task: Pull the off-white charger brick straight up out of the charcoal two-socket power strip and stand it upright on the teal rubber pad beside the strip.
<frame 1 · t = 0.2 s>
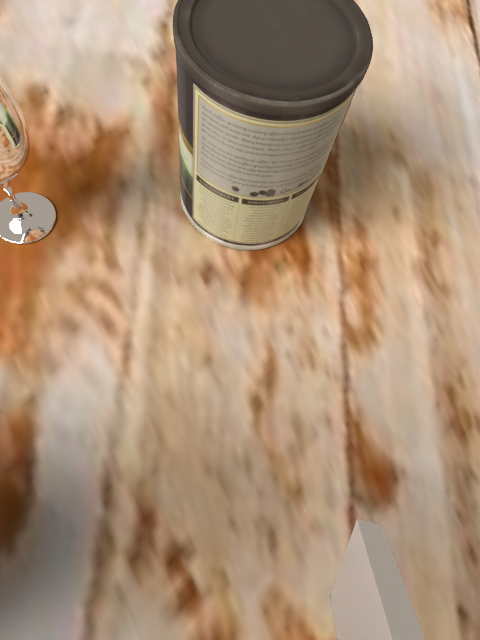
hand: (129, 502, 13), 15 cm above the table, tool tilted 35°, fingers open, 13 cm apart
wineglass: (25, 219, 33), on the table
coffee can: (243, 197, 36), on the table
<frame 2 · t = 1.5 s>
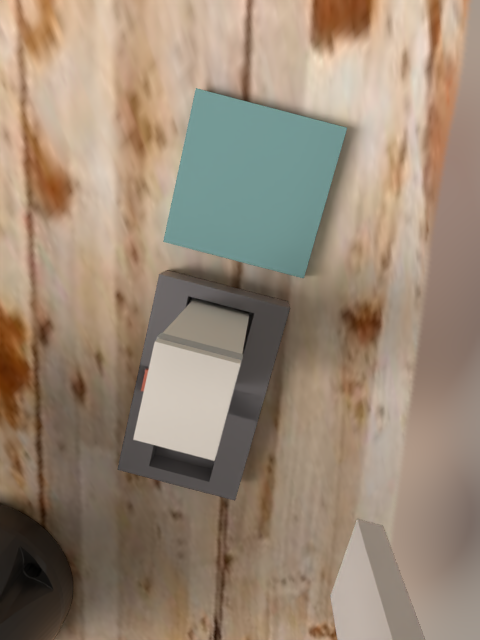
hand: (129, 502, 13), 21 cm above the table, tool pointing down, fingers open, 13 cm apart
charger: (214, 337, 33), point 1 cm above the table, touching power strip
pad: (252, 187, 31), on the table
power strip: (204, 380, 34), on the table
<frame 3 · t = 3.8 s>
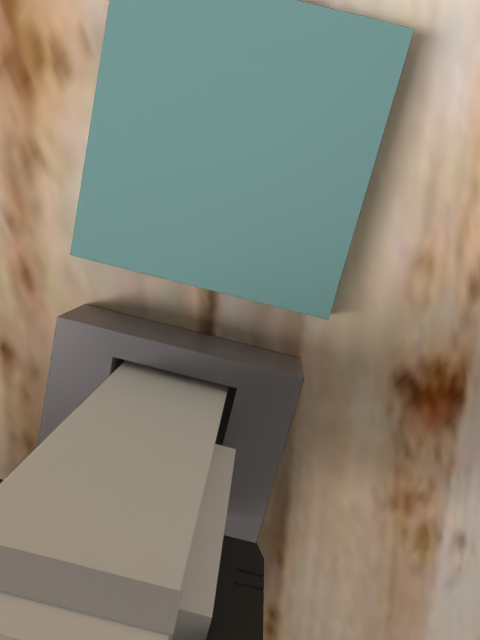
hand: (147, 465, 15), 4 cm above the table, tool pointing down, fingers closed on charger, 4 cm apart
charger: (169, 421, 19), point 1 cm above the table, touching gripper, power strip
pad: (231, 154, 17), on the table
power strip: (156, 489, 20), on the table
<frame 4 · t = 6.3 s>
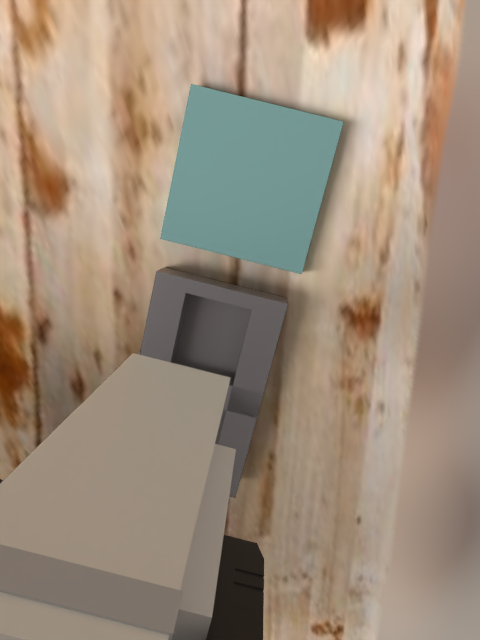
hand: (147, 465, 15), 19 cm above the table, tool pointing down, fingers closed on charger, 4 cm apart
charger: (169, 421, 19), point 15 cm above the table, touching gripper
pad: (249, 183, 31), on the table
power strip: (202, 378, 34), on the table
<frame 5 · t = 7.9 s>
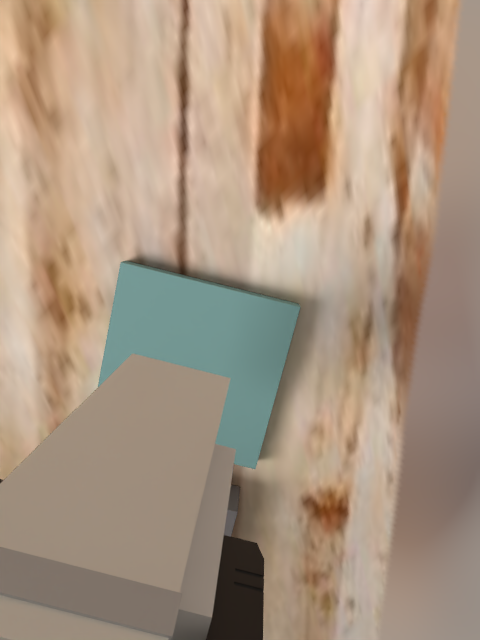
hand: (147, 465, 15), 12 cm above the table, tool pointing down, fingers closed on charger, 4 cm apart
charger: (168, 422, 18), point 8 cm above the table, touching gripper
pad: (193, 364, 27), on the table
power strip: (146, 569, 30), on the table
when the fingers open (5 cm above the table, at t = 9.1 s): charger stays where it is, resting on pad.
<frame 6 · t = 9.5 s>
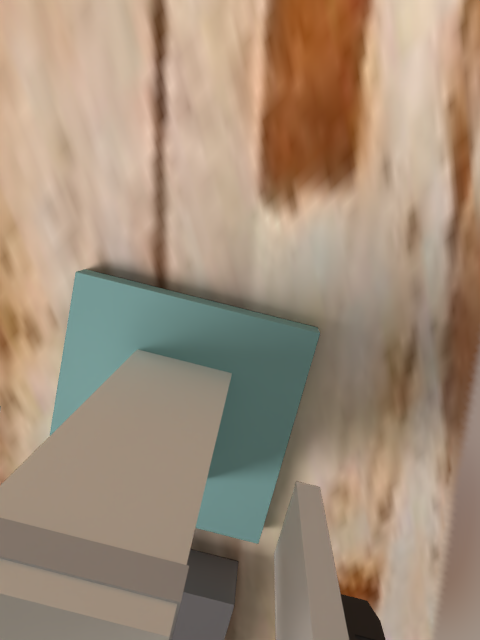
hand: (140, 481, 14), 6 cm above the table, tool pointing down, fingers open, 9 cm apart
charger: (172, 416, 19), point 1 cm above the table, touching pad
pad: (176, 406, 20), on the table
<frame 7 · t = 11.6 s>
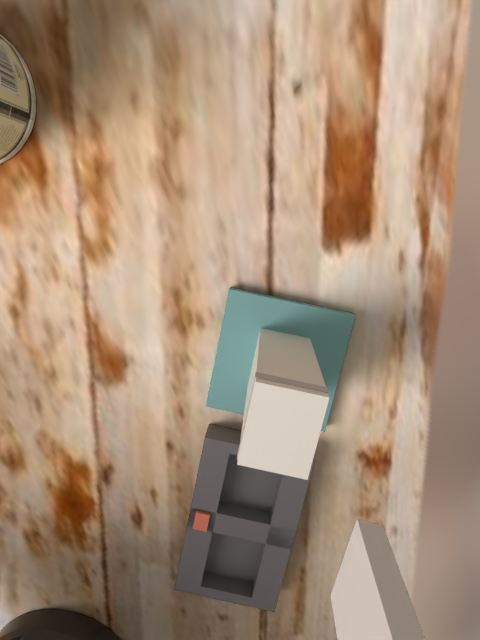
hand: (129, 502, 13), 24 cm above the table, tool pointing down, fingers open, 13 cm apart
charger: (278, 362, 36), point 1 cm above the table, touching pad
pad: (278, 358, 37), on the table
power strip: (242, 509, 41), on the table
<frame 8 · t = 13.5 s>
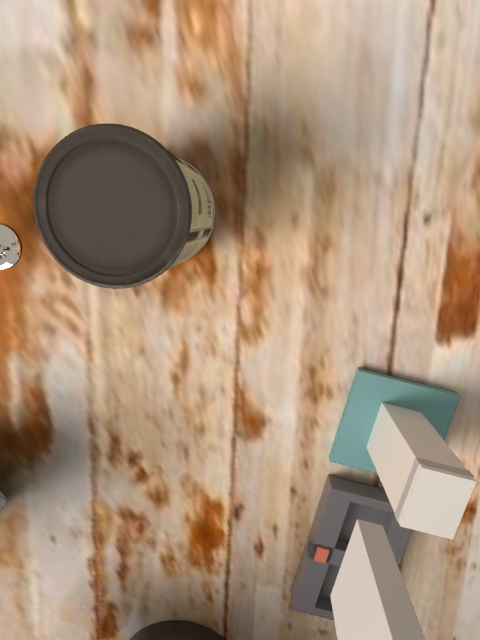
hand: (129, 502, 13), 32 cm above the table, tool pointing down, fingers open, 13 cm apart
wineglass: (0, 246, 44), on the table
charger: (393, 429, 45), point 1 cm above the table, touching pad
pad: (390, 425, 46), on the table
coffee can: (162, 212, 43), on the table
power strip: (349, 544, 49), on the table
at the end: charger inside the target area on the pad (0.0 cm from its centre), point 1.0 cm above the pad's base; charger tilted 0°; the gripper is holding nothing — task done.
